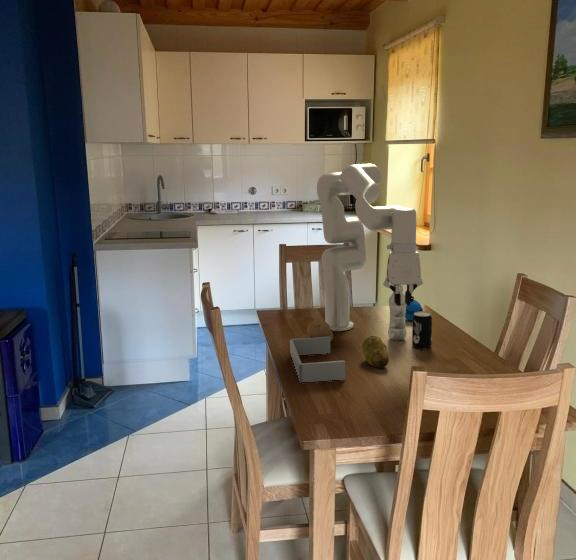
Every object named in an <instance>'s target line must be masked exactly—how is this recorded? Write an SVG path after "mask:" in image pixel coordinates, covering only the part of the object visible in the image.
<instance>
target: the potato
mask: <svg viewBox="0 0 576 560" xmlns="http://www.w3.org/2000/svg"><path fill="white" fill-rule="evenodd" d="M361 347H362V352H363V355H364V358H365V360H366V362H367V363H368V365H370V366H372V367H374V368H378V369H382V368H385V367H386V366H387V365H388V364H389V361H390V357H389V352H388V348H387V345H386V344H385V343H384V342H383V340H382V339H381V337H379V336H376V335H370V336H368V337H366V338H365V339H364V340H363V343H362V346H361Z"/></svg>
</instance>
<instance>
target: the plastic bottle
mask: <svg viewBox="0 0 576 560" xmlns="http://www.w3.org/2000/svg"><path fill="white" fill-rule="evenodd" d="M399 292H400V294H401V306H397V305H396V303H395V302H394V292H393V291H392V293H391V295H390V296H389V298H388V307H389V325H388V330H387V335H388V338H389V339H390V340H393V341H403V340H405V339H406V336H407V326H406V318H405V312H406V305H407V304H406V303H405V293H403V292H404V285H400V287H399Z"/></svg>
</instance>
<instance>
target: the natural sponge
mask: <svg viewBox="0 0 576 560" xmlns="http://www.w3.org/2000/svg"><path fill="white" fill-rule="evenodd" d="M306 335H307V338H315V337H329V336H330V342H331V341H333V339H334V333H333V331H331V329H330V327H329V325H328V324H327V323H326V322H325V320H324V319H321V318H317V319H313V321H311V322H310V323H309V324H308V326H307V328H306Z"/></svg>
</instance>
